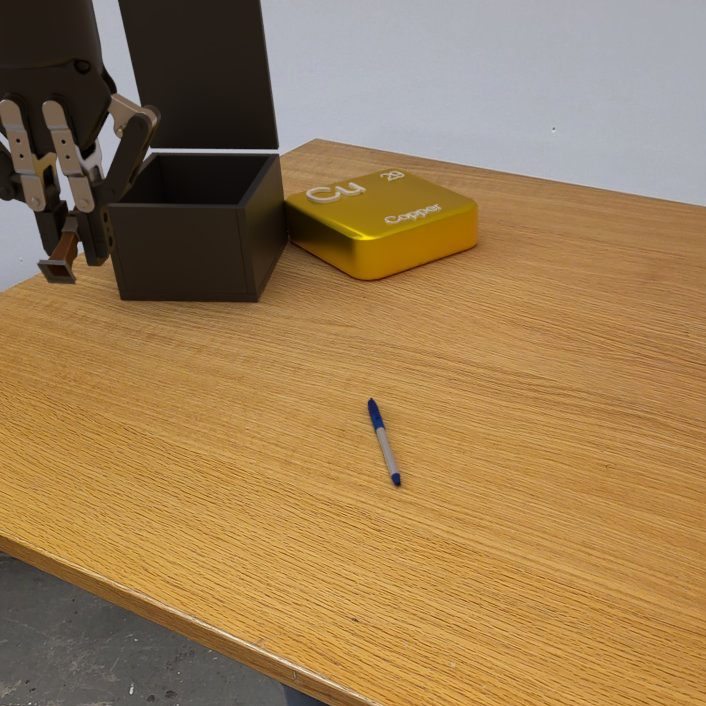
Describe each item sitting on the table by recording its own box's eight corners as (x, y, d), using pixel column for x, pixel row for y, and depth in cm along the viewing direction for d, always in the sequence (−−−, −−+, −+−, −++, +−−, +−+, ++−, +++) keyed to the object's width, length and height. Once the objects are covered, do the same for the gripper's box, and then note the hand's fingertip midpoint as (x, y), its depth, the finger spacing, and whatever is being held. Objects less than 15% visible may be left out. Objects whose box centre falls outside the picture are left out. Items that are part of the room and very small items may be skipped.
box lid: (255, -25, 80) (267, -39, 84) (112, -25, 81) (130, -38, 85) (278, 150, 90) (288, 130, 94) (150, 148, 91) (165, 129, 95)
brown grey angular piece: (125, 219, 64) (102, 169, 60) (90, 310, 60) (63, 262, 56) (100, 218, 64) (75, 168, 61) (64, 309, 60) (34, 261, 57)
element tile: (364, 285, 87) (361, 236, 84) (281, 237, 96) (275, 192, 93) (486, 244, 94) (487, 198, 91) (398, 203, 104) (396, 160, 101)
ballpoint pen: (363, 406, 70) (362, 395, 69) (375, 404, 70) (374, 393, 69) (394, 489, 61) (393, 477, 61) (407, 486, 62) (406, 474, 61)
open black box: (257, 302, 84) (244, 208, 79) (120, 300, 85) (98, 206, 79) (289, 238, 96) (279, 153, 91) (168, 237, 96) (152, 152, 91)
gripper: (157, -44, 54) (202, 241, 64) (-75, -47, 54) (6, 236, 64) (111, -23, 47) (169, 289, 57) (-150, -26, 48) (-48, 283, 58)
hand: (82, 260), depth 61 cm, fingers closed on brown grey angular piece, 1 cm apart
